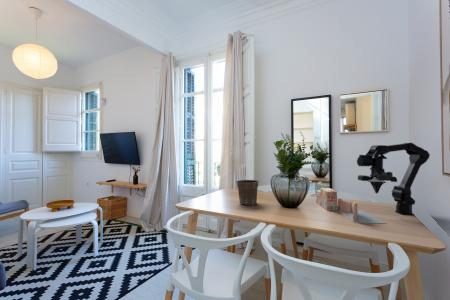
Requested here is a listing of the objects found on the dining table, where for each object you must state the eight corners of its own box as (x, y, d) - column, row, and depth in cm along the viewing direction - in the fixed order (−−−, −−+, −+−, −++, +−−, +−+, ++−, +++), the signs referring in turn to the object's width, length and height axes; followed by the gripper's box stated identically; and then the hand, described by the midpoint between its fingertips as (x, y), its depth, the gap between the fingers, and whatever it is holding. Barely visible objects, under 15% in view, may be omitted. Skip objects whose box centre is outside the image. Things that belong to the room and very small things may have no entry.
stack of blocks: (316, 202, 156) (315, 185, 157) (325, 202, 156) (324, 185, 156) (327, 210, 135) (326, 191, 135) (337, 211, 135) (337, 191, 135)
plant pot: (231, 203, 157) (231, 181, 157) (246, 199, 168) (246, 179, 168) (249, 207, 145) (248, 183, 145) (263, 203, 156) (263, 181, 156)
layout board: (361, 210, 135) (361, 209, 135) (386, 223, 111) (386, 222, 111) (336, 209, 137) (336, 209, 137) (354, 222, 112) (354, 222, 112)
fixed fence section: (352, 213, 129) (352, 201, 129) (349, 213, 128) (349, 201, 128) (339, 209, 137) (339, 198, 137) (337, 209, 137) (337, 198, 137)
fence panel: (351, 212, 128) (351, 197, 128) (357, 213, 127) (357, 198, 127) (352, 220, 114) (352, 203, 114) (358, 221, 112) (358, 204, 112)
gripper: (366, 167, 121) (366, 195, 121) (403, 168, 118) (403, 196, 118) (357, 165, 132) (357, 191, 132) (391, 166, 129) (390, 192, 129)
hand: (376, 193), depth 127 cm, fingers closed
